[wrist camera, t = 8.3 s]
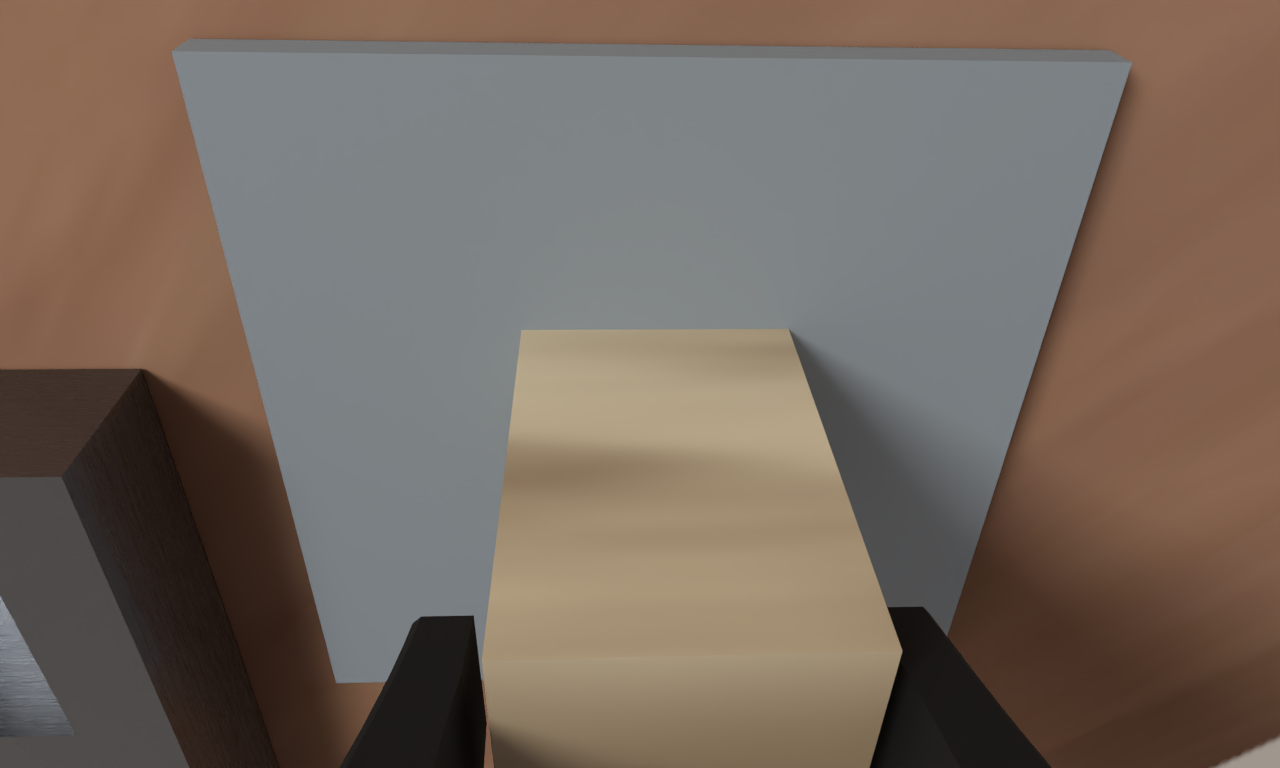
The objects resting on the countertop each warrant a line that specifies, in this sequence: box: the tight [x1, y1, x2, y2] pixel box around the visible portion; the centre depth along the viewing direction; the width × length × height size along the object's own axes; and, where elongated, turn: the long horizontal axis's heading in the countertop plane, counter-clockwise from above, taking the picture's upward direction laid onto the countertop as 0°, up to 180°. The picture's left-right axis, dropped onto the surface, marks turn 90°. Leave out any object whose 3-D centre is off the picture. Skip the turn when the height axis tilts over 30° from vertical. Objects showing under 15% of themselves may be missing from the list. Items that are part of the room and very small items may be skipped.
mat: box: [172, 39, 1132, 683], centre depth 15 cm, size 12×12×1 cm
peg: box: [482, 329, 902, 768], centre depth 12 cm, size 4×4×6 cm
